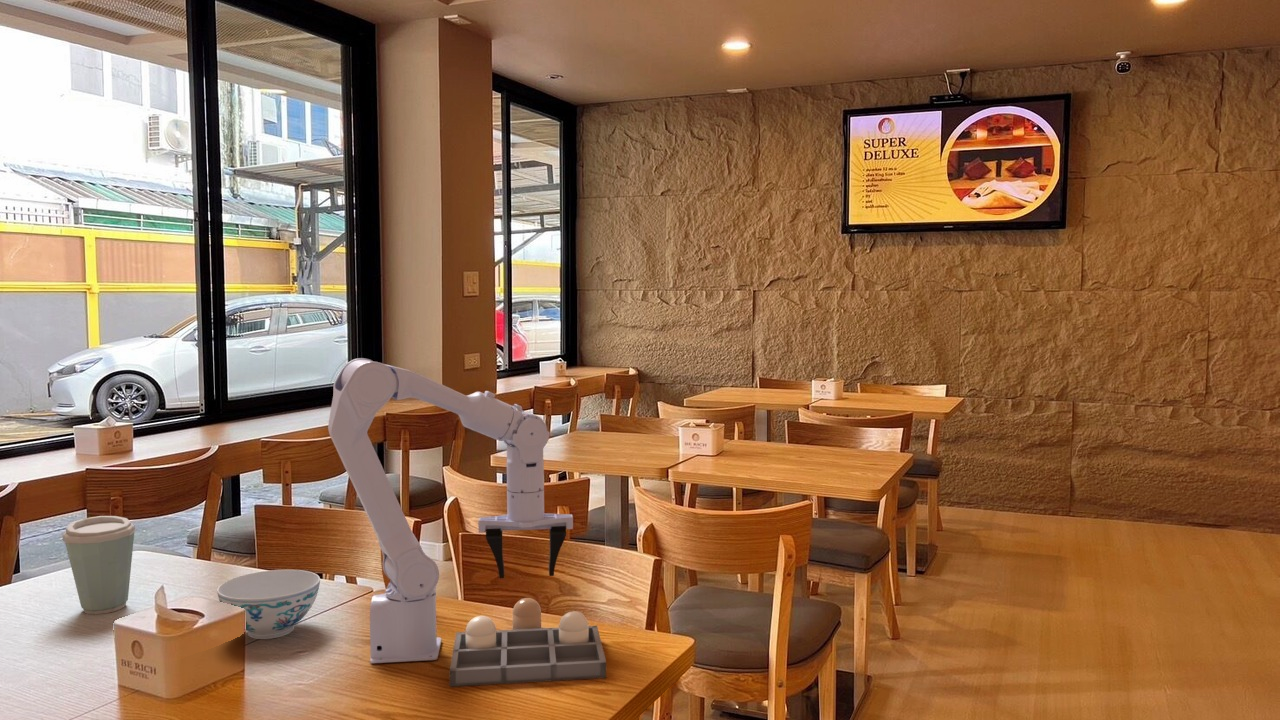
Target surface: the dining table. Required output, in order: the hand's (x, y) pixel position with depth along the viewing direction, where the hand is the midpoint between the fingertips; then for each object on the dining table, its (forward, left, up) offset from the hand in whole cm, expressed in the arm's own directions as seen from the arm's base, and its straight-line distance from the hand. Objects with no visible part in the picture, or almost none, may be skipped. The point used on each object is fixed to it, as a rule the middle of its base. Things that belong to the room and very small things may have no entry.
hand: (526, 575), depth 145 cm
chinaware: (-40, +6, -9) cm, 42 cm away
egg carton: (0, -12, -9) cm, 15 cm away
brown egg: (0, 0, -9) cm, 9 cm away
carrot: (-22, +16, -9) cm, 29 cm away
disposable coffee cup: (-71, +21, -9) cm, 75 cm away
